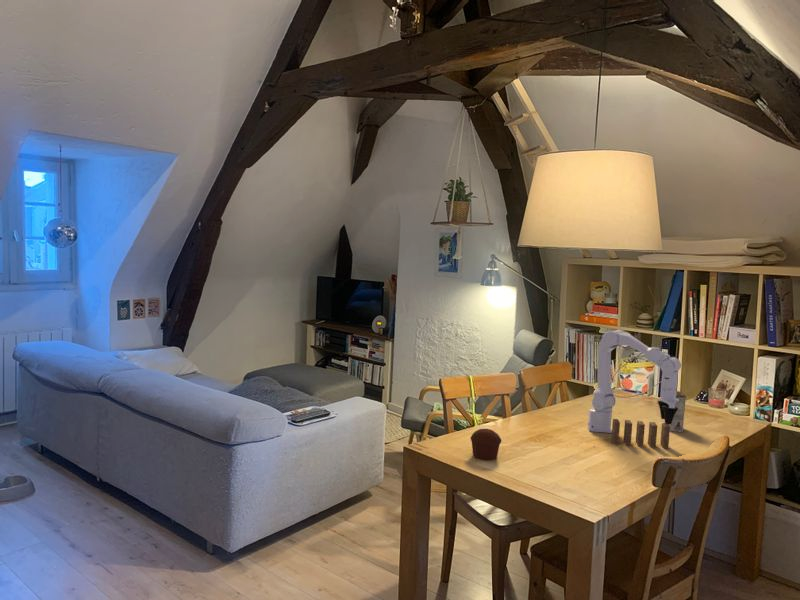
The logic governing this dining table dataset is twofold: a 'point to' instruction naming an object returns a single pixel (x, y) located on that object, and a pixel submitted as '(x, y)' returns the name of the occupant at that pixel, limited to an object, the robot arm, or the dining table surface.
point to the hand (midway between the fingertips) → (666, 421)
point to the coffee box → (678, 413)
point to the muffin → (485, 444)
